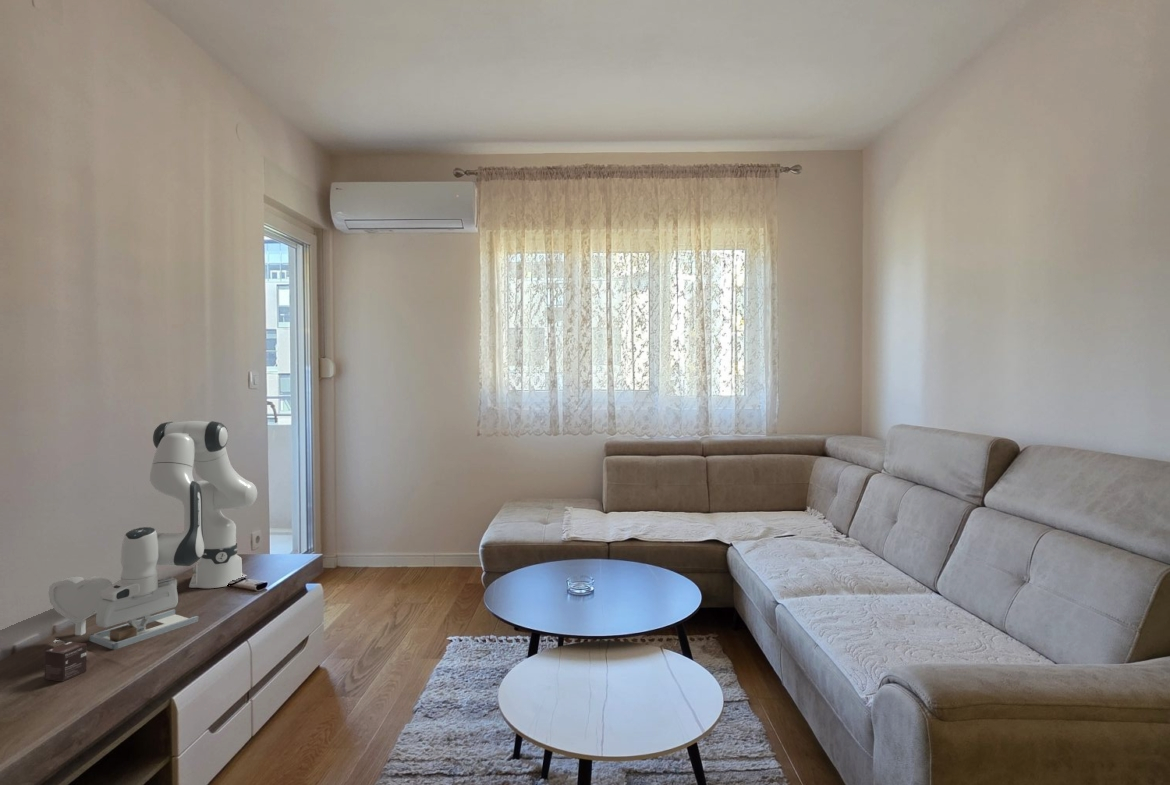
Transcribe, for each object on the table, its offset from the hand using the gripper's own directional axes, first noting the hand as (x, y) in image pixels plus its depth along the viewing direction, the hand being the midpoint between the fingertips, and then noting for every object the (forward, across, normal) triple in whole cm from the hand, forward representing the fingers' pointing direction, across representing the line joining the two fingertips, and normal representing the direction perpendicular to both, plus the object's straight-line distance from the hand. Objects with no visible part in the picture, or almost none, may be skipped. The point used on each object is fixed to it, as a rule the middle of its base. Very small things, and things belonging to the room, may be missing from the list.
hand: (138, 632), depth 174 cm
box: (+3, +20, +6) cm, 21 cm away
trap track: (+3, -4, -3) cm, 5 cm away
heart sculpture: (+3, +7, -16) cm, 18 cm away
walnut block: (+1, +4, 0) cm, 4 cm away
